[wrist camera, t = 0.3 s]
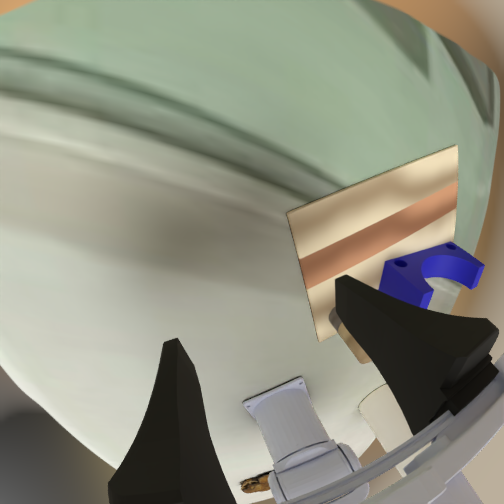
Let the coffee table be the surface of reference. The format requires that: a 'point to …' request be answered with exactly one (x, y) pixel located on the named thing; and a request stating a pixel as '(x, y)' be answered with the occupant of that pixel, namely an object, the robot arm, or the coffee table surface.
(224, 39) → the coffee table surface
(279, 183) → the coffee table surface
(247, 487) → the decorative rock
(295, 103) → the coffee table surface
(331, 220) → the plywood sheet
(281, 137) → the coffee table surface
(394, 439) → the bottle
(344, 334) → the cylindrical peg
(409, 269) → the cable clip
